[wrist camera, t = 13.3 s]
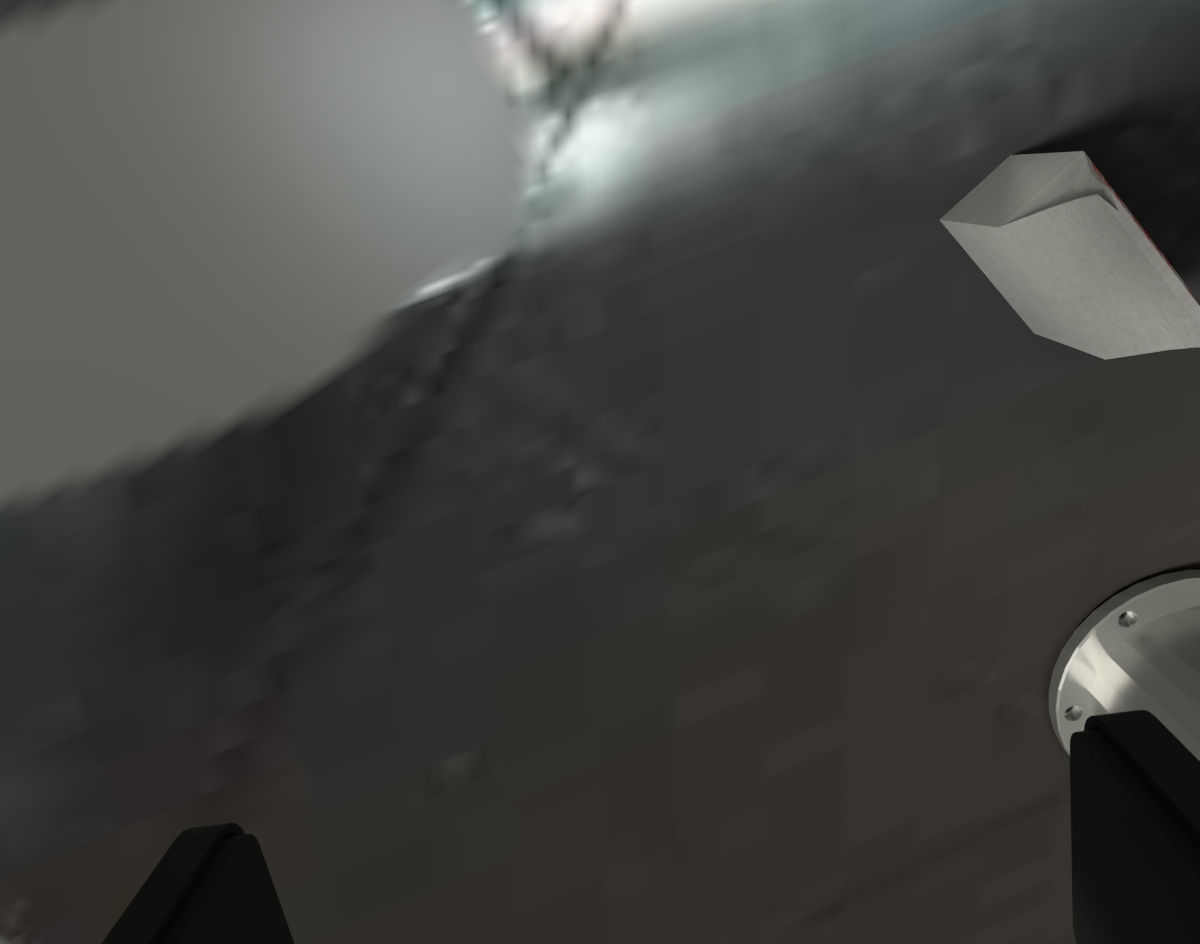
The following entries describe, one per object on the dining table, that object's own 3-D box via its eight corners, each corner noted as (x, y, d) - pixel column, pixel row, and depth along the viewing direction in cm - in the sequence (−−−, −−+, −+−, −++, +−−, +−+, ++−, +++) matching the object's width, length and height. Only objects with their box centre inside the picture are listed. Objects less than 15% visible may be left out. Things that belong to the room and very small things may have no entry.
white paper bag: (1033, 333, 39) (1170, 383, 29) (939, 219, 37) (1051, 234, 28) (1104, 273, 38) (1268, 305, 28) (1010, 155, 36) (1151, 147, 27)
